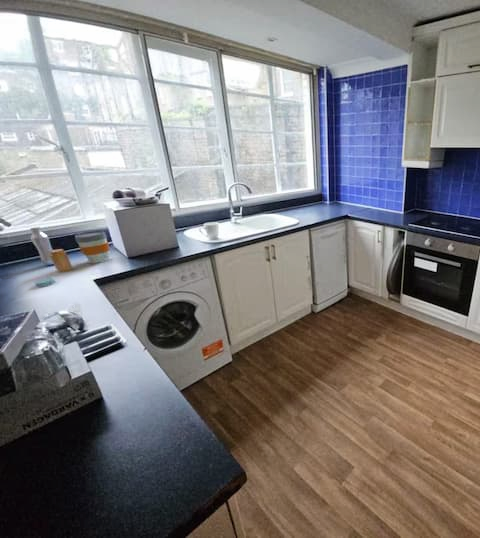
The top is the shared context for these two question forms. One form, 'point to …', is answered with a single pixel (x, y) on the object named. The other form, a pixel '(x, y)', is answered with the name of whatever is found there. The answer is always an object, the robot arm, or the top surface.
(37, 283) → the jar lid
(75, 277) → the top surface
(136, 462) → the top surface
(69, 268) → the jar
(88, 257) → the reusable coffee cup
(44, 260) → the plastic bottle
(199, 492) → the top surface
